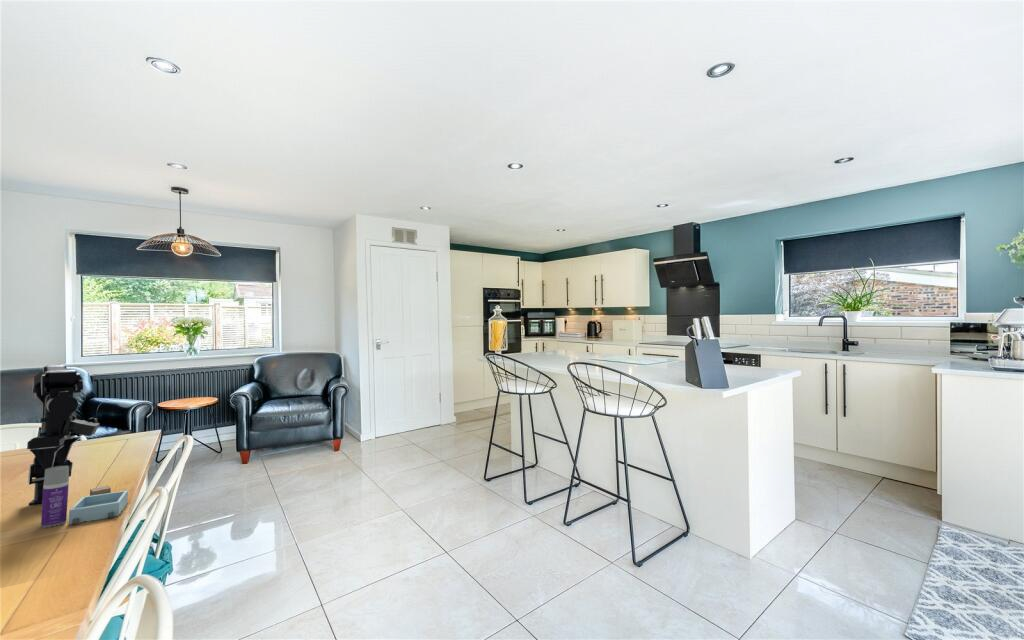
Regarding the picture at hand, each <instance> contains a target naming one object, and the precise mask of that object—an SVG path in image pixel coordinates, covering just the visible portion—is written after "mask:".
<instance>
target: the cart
mask: <svg viewBox="0 0 1024 640" xmlns="http://www.w3.org/2000/svg"><path fill="white" fill-rule="evenodd" d="M128 499H129V490H121V491H115V492H111V493H106V494H100V495H93V496H90V495H87V496H82V497H81V498H80V499H79V500H78V501H77V502H76V503H75V504H74V505H72V507H71V508H70V509H69V510H68V526H70V525H72V526H73V525H79V524H80V523H79V522H81V523H84V522H83V521H87V522H93V521H99V520H103V519H113V518H115V516H116V517H119V516H120V515H119V514H121V513H122V512H121V511H124V509H125V507H126V505H128V501H129V500H128ZM92 520H93V521H92ZM69 524H70V525H69Z"/></svg>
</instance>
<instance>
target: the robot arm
mask: <svg viewBox="0 0 1024 640" xmlns="http://www.w3.org/2000/svg"><path fill="white" fill-rule="evenodd" d="M31 386H32V388H31V393H32V394H34V399H35V402H37V403H38V404H39V405H40V406H41V418H40V422H41V428H40V429H41V432H40V433H39V435H38V436H35V437H33V438H31V439H30V440H28V441H27V445H26V447H27V448H26V449H27V450H29V451H30V452H31V453H32V454H33V455H34V458H33V460H32V463H31V464H29V469H28V477H27V478H28V480H27V483H28V485H34V490H33V491H34V492H33V493H34V495H33V499H32V500H31V501H30V502H28V505H31V506H32V505H35V504H37V505H38V504H42V499H43V486H44V476H45V469H47V468H51V467H56V466H69V478H70V477H72V469H73V462H72V461H71V458H68V457H69V454H70V451H71V449H72V446H74V445H73V444H74V443H76V442H77V441H79V440H80V439H81V437H82V436H85V437H92V436H94V435H95V434H96V432H97V429H99V428H100V422H98V418H95V417H90V418H88V419H87V420H84V419H82V420H81V419H77V416H78V415H76V414H74V412H75V411H76V410H77V409H78V406H79V401H78V400H77V398H75V397H74V394H76V393H77V394H79V393H80V394H81V391H83V390H84V381H83V376H82V375H81V373H80V372H79V373H78V371H77V369H67V365H64V364H58V365H57V364H56V365H46V366H43V369H42V370H41V372H39V373H37V374H36V375H35V376H33V379H32V385H31ZM75 436H76V437H75Z"/></svg>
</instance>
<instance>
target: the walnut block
mask: <svg viewBox="0 0 1024 640" xmlns="http://www.w3.org/2000/svg"><path fill="white" fill-rule="evenodd" d="M111 489H112V488H111V487H110V486H109V485H103V486H99V487H93V488H90V489H89V496H93V495H100V494H106V493H112V492H111Z"/></svg>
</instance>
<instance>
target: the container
mask: <svg viewBox="0 0 1024 640" xmlns="http://www.w3.org/2000/svg"><path fill="white" fill-rule="evenodd" d="M69 481H70V477H69V466H56V467H51V468H47V469H45V476H44V486H43V499H42V503H41V504H42V505H41V517H40V519H41V520H40V528H42V527H48V528H52V527H51V526H54V527H57V526H56V525H58V526H60V524H61V525H64V524H65V523H66V522H67V518H68V517H67V515H68V501H69V483H70V482H69Z"/></svg>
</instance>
